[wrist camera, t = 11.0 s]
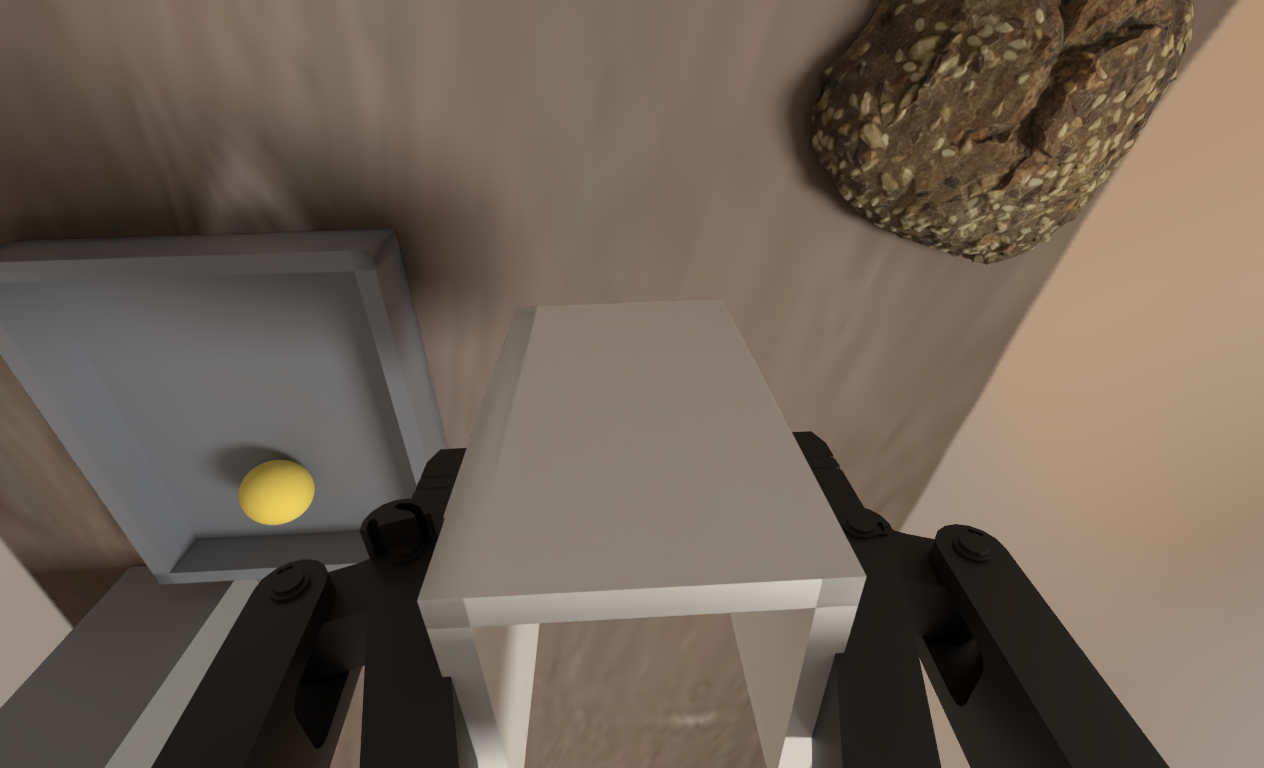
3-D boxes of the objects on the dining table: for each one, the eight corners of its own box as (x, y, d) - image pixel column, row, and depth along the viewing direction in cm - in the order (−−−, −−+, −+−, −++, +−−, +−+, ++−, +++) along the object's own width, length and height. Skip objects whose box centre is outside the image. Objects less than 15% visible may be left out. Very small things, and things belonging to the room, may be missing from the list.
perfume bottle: (247, 561, 33) (-66, 1011, 17) (284, 631, 36) (52, 1058, 21) (130, 566, 32) (-294, 1028, 17) (179, 636, 36) (-137, 1073, 20)
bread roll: (971, 287, 26) (1044, 331, 22) (766, 156, 23) (805, 178, 19) (1222, 7, 21) (1383, -7, 17) (1003, -224, 17) (1136, -316, 13)
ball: (209, 507, 25) (252, 536, 28) (275, 505, 25) (312, 535, 27) (242, 448, 27) (279, 480, 30) (303, 446, 27) (335, 479, 29)
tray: (13, 240, 23) (-63, 264, 20) (395, 228, 23) (369, 250, 21) (195, 541, 32) (160, 584, 29) (466, 527, 32) (455, 568, 30)
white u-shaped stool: (516, 306, 16) (417, 600, 7) (722, 299, 16) (866, 576, 7) (538, 469, 19) (486, 811, 10) (711, 460, 19) (803, 790, 10)
